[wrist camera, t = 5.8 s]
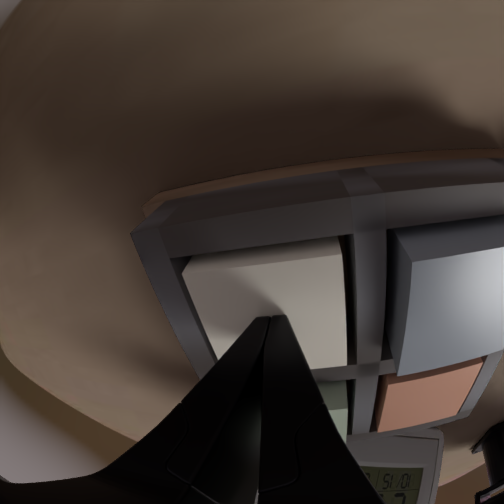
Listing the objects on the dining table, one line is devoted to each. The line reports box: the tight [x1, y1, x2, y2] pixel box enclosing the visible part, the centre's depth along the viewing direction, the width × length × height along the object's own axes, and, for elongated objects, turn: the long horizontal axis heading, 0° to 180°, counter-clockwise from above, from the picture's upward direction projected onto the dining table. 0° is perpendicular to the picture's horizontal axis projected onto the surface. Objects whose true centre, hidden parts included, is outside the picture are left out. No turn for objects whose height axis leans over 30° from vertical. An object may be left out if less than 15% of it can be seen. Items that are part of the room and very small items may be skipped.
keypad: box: [130, 149, 504, 442], centre depth 11 cm, size 12×14×4 cm
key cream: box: [182, 236, 347, 369], centre depth 9 cm, size 4×4×2 cm
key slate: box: [385, 214, 504, 376], centre depth 7 cm, size 4×4×2 cm
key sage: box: [317, 380, 348, 444], centre depth 11 cm, size 4×4×2 cm
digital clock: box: [254, 427, 444, 504], centre depth 14 cm, size 16×9×11 cm, turn 57°
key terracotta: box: [374, 357, 483, 433], centre depth 10 cm, size 4×4×2 cm
